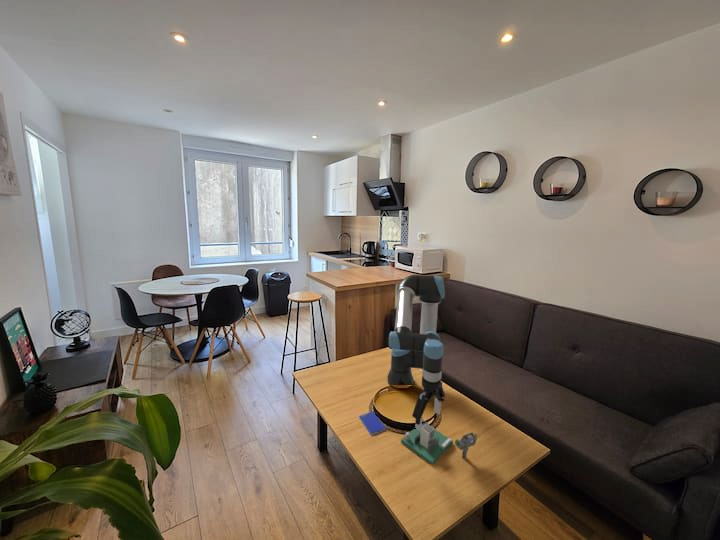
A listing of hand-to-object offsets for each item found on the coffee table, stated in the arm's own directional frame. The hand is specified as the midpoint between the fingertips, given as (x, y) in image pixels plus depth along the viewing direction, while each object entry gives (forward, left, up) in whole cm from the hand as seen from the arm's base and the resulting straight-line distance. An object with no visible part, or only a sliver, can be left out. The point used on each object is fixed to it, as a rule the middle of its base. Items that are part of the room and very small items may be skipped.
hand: (428, 421), depth 128 cm
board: (-2, -1, -13) cm, 13 cm away
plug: (0, 0, -11) cm, 11 cm away
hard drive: (+8, -25, -14) cm, 30 cm away
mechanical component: (-7, +14, -13) cm, 20 cm away
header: (0, 0, -11) cm, 11 cm away
